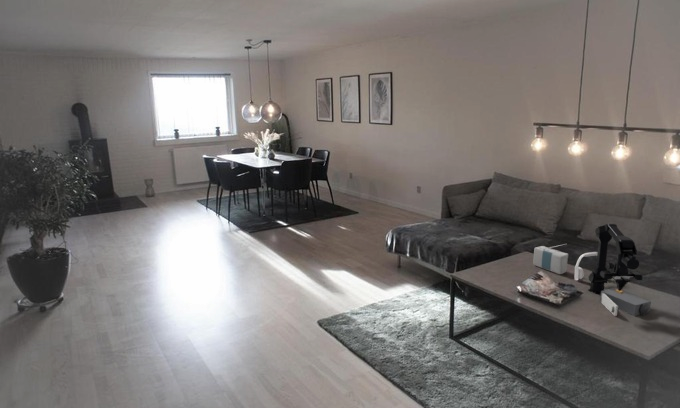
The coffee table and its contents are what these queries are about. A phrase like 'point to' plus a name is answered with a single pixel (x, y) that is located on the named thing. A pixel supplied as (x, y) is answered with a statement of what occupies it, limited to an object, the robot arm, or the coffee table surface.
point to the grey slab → (628, 301)
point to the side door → (609, 304)
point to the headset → (578, 270)
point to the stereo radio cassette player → (550, 259)
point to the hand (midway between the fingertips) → (619, 290)
